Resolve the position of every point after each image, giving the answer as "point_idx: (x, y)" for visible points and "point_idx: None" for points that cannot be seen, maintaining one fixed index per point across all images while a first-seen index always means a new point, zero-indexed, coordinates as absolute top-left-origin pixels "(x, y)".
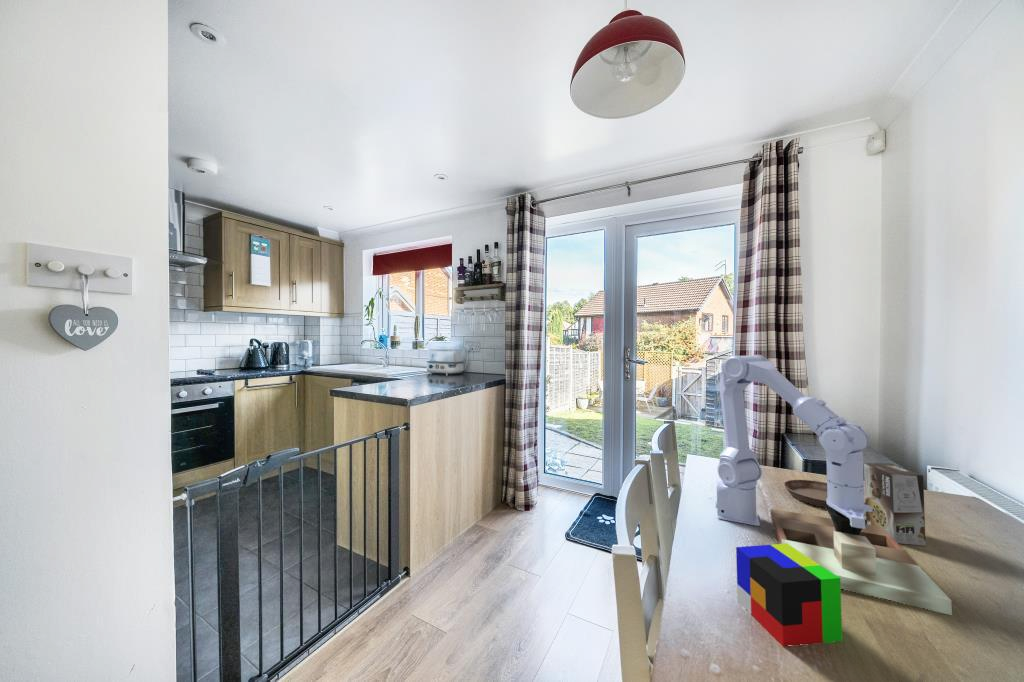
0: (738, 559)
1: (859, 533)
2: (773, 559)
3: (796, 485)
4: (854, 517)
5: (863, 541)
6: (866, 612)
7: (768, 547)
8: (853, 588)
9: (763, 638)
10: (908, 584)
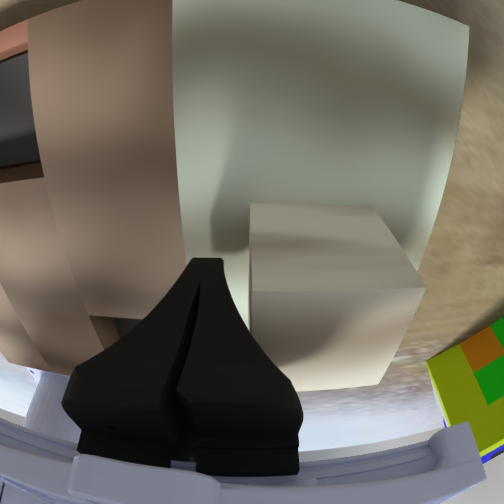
0: None
1: (243, 323)
2: (501, 449)
3: None
4: (456, 495)
5: (339, 316)
6: (467, 253)
7: None
8: None
9: None
10: (408, 112)
